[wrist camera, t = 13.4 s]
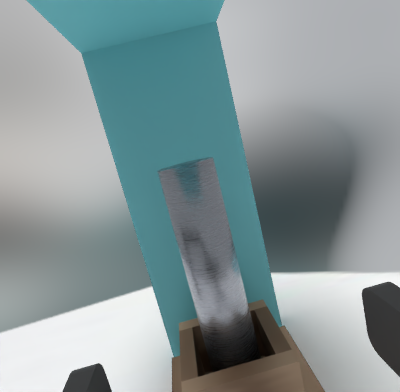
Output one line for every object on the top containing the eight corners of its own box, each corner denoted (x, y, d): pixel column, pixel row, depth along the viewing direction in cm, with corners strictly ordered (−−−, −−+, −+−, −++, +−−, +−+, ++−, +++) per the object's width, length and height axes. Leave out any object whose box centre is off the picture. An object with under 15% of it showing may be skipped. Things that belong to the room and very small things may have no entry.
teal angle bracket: (178, 556, 14) (-74, -149, 9) (174, 344, 29) (80, 33, 23) (379, 492, 15) (264, -216, 9) (274, 315, 29) (206, 3, 24)
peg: (223, 418, 19) (155, 174, 16) (215, 377, 23) (158, 168, 20) (274, 402, 19) (217, 158, 16) (259, 364, 23) (209, 155, 20)
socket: (177, 506, 16) (152, 431, 15) (174, 367, 26) (159, 316, 25) (354, 451, 17) (341, 375, 16) (286, 335, 26) (275, 284, 25)
